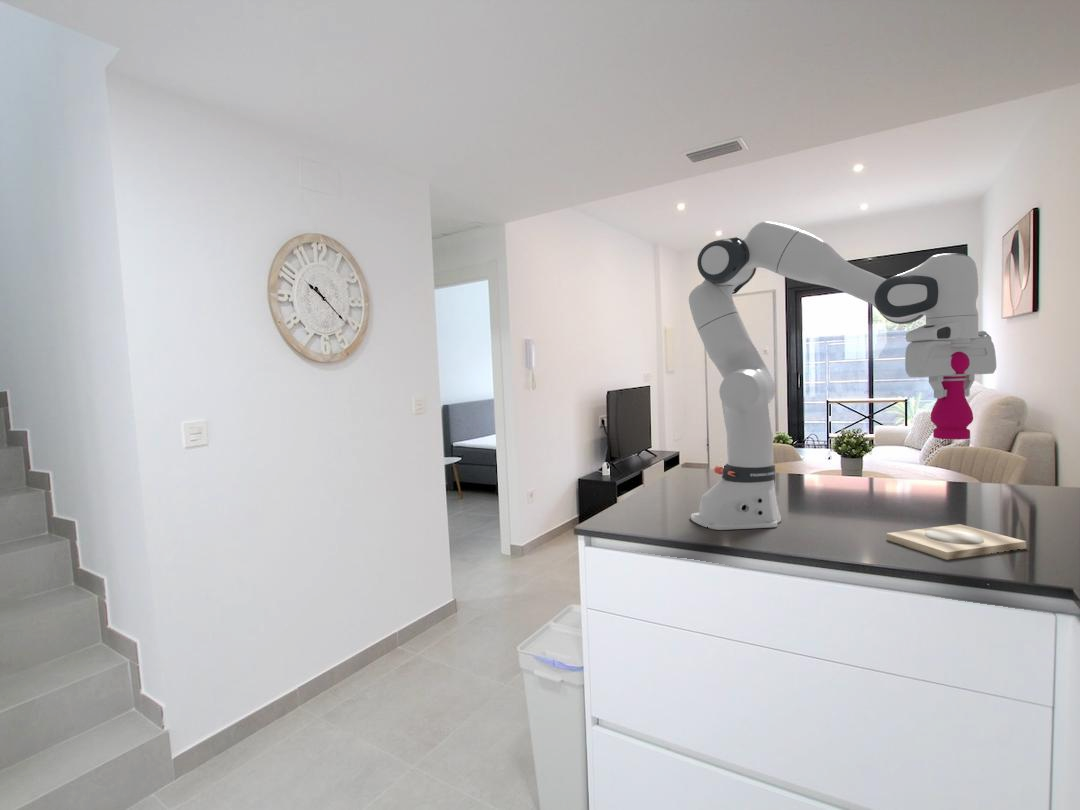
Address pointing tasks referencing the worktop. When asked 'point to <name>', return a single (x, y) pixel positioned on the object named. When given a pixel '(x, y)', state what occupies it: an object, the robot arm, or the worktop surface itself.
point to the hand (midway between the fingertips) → (951, 397)
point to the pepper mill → (953, 403)
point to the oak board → (955, 541)
